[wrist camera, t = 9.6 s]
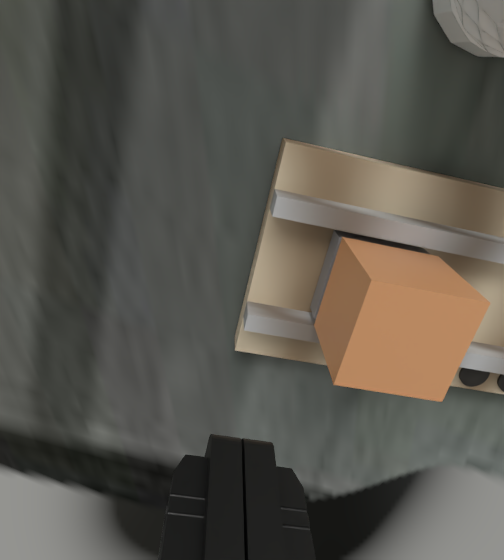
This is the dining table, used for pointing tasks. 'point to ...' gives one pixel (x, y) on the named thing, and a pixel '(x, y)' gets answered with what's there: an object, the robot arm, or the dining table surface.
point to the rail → (377, 224)
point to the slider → (393, 317)
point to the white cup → (473, 25)
